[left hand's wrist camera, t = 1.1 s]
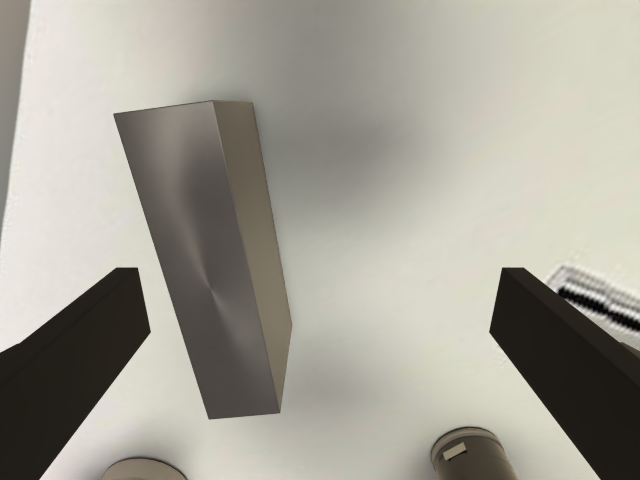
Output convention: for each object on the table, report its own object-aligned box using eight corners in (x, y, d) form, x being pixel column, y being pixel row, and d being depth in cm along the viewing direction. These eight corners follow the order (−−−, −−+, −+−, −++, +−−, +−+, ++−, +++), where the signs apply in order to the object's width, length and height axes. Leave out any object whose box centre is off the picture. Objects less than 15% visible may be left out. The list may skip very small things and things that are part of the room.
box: (188, 111, 32) (112, 113, 21) (252, 102, 32) (213, 100, 20) (240, 330, 41) (208, 419, 29) (292, 325, 41) (280, 413, 29)
